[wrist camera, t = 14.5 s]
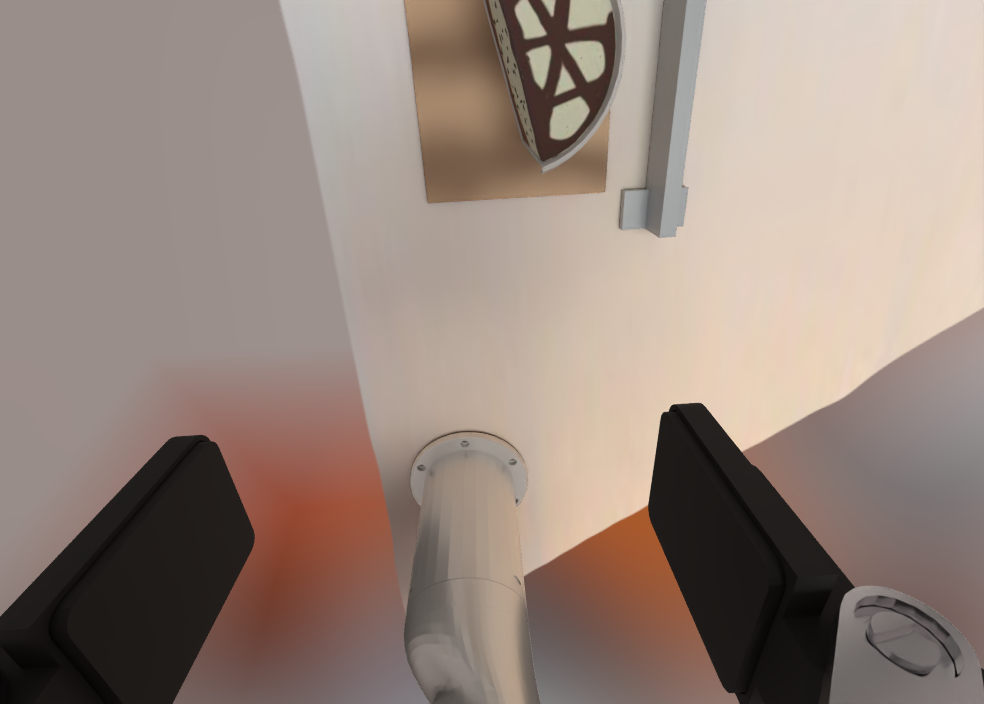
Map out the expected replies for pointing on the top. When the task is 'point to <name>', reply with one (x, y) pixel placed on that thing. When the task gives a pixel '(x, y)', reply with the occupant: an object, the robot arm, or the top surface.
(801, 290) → the top surface
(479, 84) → the walnut board
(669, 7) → the grey footed rail
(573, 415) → the top surface
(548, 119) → the food container
